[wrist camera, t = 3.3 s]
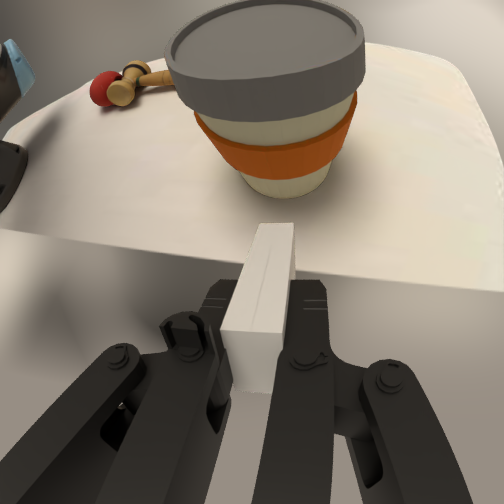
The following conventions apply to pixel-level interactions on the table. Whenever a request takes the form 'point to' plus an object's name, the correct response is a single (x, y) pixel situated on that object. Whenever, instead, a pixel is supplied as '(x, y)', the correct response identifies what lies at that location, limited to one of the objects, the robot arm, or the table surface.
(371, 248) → the table surface
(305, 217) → the table surface
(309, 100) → the reusable coffee cup
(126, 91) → the kendama
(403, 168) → the table surface
